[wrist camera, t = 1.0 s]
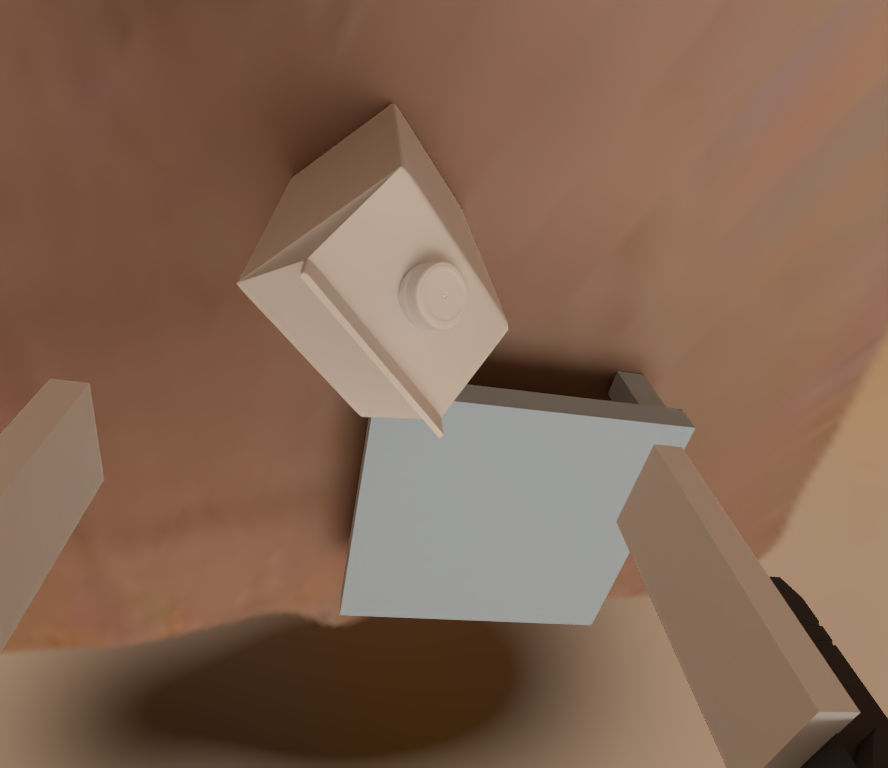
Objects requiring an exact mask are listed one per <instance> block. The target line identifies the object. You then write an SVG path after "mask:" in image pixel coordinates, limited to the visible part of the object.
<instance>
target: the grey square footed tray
mask: <svg viewBox="0 0 888 768" xmlns="http://www.w3.org/2000/svg"><path fill="white" fill-rule="evenodd" d="M608 395H609V397H610V398H611V400H612V401H606V400H597V399H589V398H580V397H572V396H563V395H555V394H546V393H537V392H529V391H520V390H512V389H503V388H495V387H486V386H477V385H469V384H467V385H466V386H465V387H464V388H463V390H462V391H461V392H460V394H459V395H458V396H457V398H456V399H455V400H454V402H453V403H452V404H451V405H450V407H449V408H448V409H447V411H446V412H445V413H444V415H443V416H442V417H441V420H442V427H443V434H444V436H442V437H440V438H438V437H437V435H436V434H435V433H434V432H433V431H432V430H431V428H430V427H429V426H428V425H427V424H426V423H425V421H424V420H423V419H408V418H379V417H369V419H368V425H367V432H366V438H365V444H364V451H363V457H362V464H361V470H360V476H359V483H358V489H357V495H356V502H355V508H354V515H353V521H352V527H351V534H350V540H349V546H348V553H347V559H346V566H345V572H344V578H343V585H342V591H341V605H340V615H352V616H377V617H404V618H427V619H452V620H453V619H455V620H477V621H503V622H526V623H528V622H529V623H551V624H552V623H553V624H575V625H591V624H592V622H593V621H594V619H595V617H596V615H597V613H598V611H599V609H600V607H601V606H602V603H603V602H604V600H605V598H606V596H607V594H608V592H609V590H610V589H611V587H612V585H613V583H614V581H615V579H616V577H617V575H618V573H619V572H620V570H621V568H622V566H623V564H624V562H625V560H626V558H627V556H628V555H629V553H630V551H629V549H628V547H627V545H626V542H625V540H624V538H623V536H622V534H621V531H620V529H619V527H618V525H617V522H616V521H617V519H618V517H619V515H620V513H621V511H622V509H623V507H624V505H625V503H626V501H627V499H628V496H629V494H630V492H631V490H632V488H633V486H634V484H635V482H636V480H637V478H638V476H639V474H640V472H641V470H642V468H643V466H644V464H645V462H646V460H647V458H648V456H649V454H650V452H651V450H652V448H653V446H654V444H657V445H666V446H675V447H682V448H683V450H684V449H685V447H686V445H687V443H688V441H689V439H690V437H691V436H692V434H693V432H694V430H695V427H694V425H693V424H692V423H691V421H690V420H689V419H688V417H687V416H686V415H685V413H684V412H683V411H682V409H674V408H666V406H665V405H664V403H663V402H662V401H661V399H660V398H659V396H658V395H657V394H656V392H655V391H654V389H653V388H652V387H651V385H650V384H649V382H648V381H647V380H646V378H645V377H644V375H643V374H636V373H629V372H621V371H617V373H616V376H615V378H614V380H613V383H612V385H611V388H610V390H609V392H608Z"/></svg>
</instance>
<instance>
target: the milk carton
mask: <svg viewBox="0 0 888 768" xmlns="http://www.w3.org/2000/svg"><path fill="white" fill-rule="evenodd" d="M236 284H237V285H238V287H239V288H240V289H241V290H242V291H243V292H244V293H245V294H246V295H247V296H248V298H249V299H250V300H251V301H252V302H253V303H254V304H255V305H256V306H257V307H258V308H259V309H260V310H261V311H262V313H263V314H264V315H265V316H266V317H267V318H268V319H269V320H270V321H271V322H272V323H273V324H274V325H275V326H276V327H277V328H278V330H279V331H280V332H281V333H282V334H283V335H284V336H285V337H286V338H287V339H288V340H289V341H290V342H291V343H292V344H293V345H294V347H295V348H296V349H297V350H298V351H299V352H300V353H301V354H302V355H303V356H304V357H305V358H306V359H307V360H308V361H309V362H310V364H311V365H312V366H313V367H314V368H315V369H316V370H317V371H318V372H319V373H320V374H321V375H322V376H323V377H324V378H325V380H326V381H327V382H328V383H329V384H330V385H331V386H332V387H333V388H334V389H335V390H336V391H337V392H338V393H339V394H340V395H341V397H342V398H343V399H344V400H345V401H346V402H347V403H348V404H349V405H350V406H351V407H352V408H353V409H354V410H355V411H356V412H357V413H358V414H359V415H360V416H361V417H379V418H408V419H423V420H424V421H425V423H426V424H427V425H428V426H429V427H430V428H431V430H432V431H433V432H434V433H435V434H436V435H437V437H438V438H440V437H442V436H444V434H443V427H442V420H441V417H442V416H443V415H444V413H445V412H446V411H447V409H448V408H449V407H450V405H451V404H452V403H453V402H454V400H455V399H456V398H457V396H458V395H459V394H460V392H461V391H462V390H463V388H464V387H465V386H466V385H467V383H468V382H469V381H470V379H471V378H472V377H473V375H474V374H475V373H476V372H477V370H478V369H479V368H480V366H481V365H482V364H483V362H484V361H485V360H486V358H487V357H488V356H489V355H490V353H491V352H492V351H493V349H494V348H495V347H496V345H497V344H498V343H499V342H500V340H501V339H502V338H503V336H504V335H505V334H506V332H507V331H508V323H507V320H506V317H505V315H504V312H503V309H502V307H501V304H500V302H499V300H498V297H497V295H496V292H495V290H494V287H493V285H492V282H491V280H490V277H489V275H488V272H487V270H486V267H485V265H484V263H483V260H482V258H481V255H480V253H479V250H478V248H477V245H476V243H475V240H474V238H473V235H472V233H471V231H470V228H469V226H468V223H467V221H466V218H465V216H464V213H463V211H462V209H461V207H460V205H459V204H458V202H457V200H456V199H455V197H454V196H453V194H452V192H451V191H450V189H449V188H448V186H447V184H446V183H445V181H444V180H443V178H442V177H441V175H440V173H439V172H438V170H437V169H436V167H435V165H434V164H433V162H432V161H431V159H430V158H429V156H428V154H427V153H426V151H425V150H424V148H423V146H422V145H421V143H420V142H419V140H418V138H417V137H416V135H415V134H414V132H413V131H412V129H411V127H410V126H409V124H408V123H407V121H406V119H405V118H404V116H403V115H402V113H401V112H400V110H399V109H398V107H397V106H396V105H395V103H392V104H390V105H389V106H388V107H386V108H385V109H384V110H382V111H381V112H380V113H378V114H377V115H375V116H374V117H373V118H371V119H370V120H369V121H367V122H366V123H365V124H363V125H362V126H361V127H359V128H358V129H357V130H355V131H354V132H353V133H351V134H350V135H349V136H347V137H346V138H345V139H343V140H342V141H340V142H339V143H338V144H336V145H335V146H334V147H332V148H331V149H330V150H328V151H327V152H326V153H324V154H323V155H322V156H320V157H319V158H318V159H316V160H315V161H314V162H312V163H311V164H310V165H308V166H307V167H305V168H304V169H303V170H301V171H300V172H299V173H297V174H296V175H295V176H293V177H292V178H291V179H290V181H289V183H288V185H287V187H286V189H285V191H284V193H283V195H282V197H281V199H280V201H279V203H278V205H277V207H276V209H275V210H274V212H273V214H272V216H271V218H270V220H269V222H268V224H267V226H266V228H265V230H264V232H263V234H262V236H261V238H260V240H259V241H258V243H257V245H256V247H255V249H254V251H253V253H252V255H251V257H250V259H249V261H248V263H247V265H246V267H245V269H244V270H243V272H242V274H241V276H240V278H239V280H238V282H237V283H236Z"/></svg>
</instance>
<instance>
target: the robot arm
mask: <svg viewBox="0 0 888 768" xmlns="http://www.w3.org/2000/svg"><path fill="white" fill-rule="evenodd" d="M103 481H104V475H103V469H102V462H101V455H100V449H99V442H98V435H97V429H96V422H95V416H94V409H93V402H92V396H91V389H90V383H86V382H77V381H68V380H59V379H49V380H48V381H47V382H46V384H45V385H44V386H43V387H42V388H41V389H40V390H39V391H38V392H37V394H36V395H35V396H34V397H33V398H32V399H31V400H30V401H29V402H28V403H27V405H26V406H25V407H24V408H23V409H22V410H21V411H20V412H19V413H18V415H17V416H16V417H15V418H14V419H13V420H12V421H11V422H10V423H9V424H8V426H7V427H6V428H5V429H4V430H3V431H2V432H1V433H0V654H1V652H2V650H3V649H4V647H5V645H6V644H7V642H8V640H9V638H10V637H11V635H12V633H13V632H14V630H15V628H16V627H17V625H18V623H19V622H20V620H21V618H22V617H23V615H24V613H25V612H26V610H27V608H28V607H29V605H30V603H31V602H32V600H33V598H34V597H35V595H36V593H37V591H38V590H39V588H40V586H41V585H42V583H43V581H44V580H45V578H46V576H47V575H48V573H49V571H50V570H51V568H52V566H53V565H54V563H55V561H56V560H57V558H58V556H59V555H60V553H61V551H62V550H63V548H64V546H65V544H66V543H67V541H68V539H69V538H70V536H71V534H72V533H73V531H74V529H75V528H76V526H77V524H78V523H79V521H80V519H81V518H82V516H83V514H84V513H85V511H86V509H87V508H88V506H89V504H90V503H91V501H92V499H93V497H94V496H95V494H96V492H97V491H98V489H99V487H100V486H101V484H102V482H103ZM616 522H617V525H618V527H619V529H620V531H621V534H622V536H623V538H624V540H625V542H626V545H627V547H628V549H629V551H630V554H631V556H632V558H633V560H634V562H635V565H636V567H637V569H638V571H639V574H640V576H641V578H642V580H643V583H644V585H645V587H646V589H647V591H648V594H649V596H650V598H651V600H652V603H653V605H654V607H655V609H656V611H657V614H658V616H659V618H660V620H661V623H662V625H663V627H664V629H665V632H666V634H667V636H668V638H669V640H670V643H671V645H672V647H673V649H674V652H675V654H676V656H677V658H678V660H679V663H680V665H681V667H682V669H683V672H684V674H685V676H686V678H687V681H688V683H689V685H690V687H691V689H692V692H693V694H694V696H695V698H696V700H697V703H698V705H699V707H700V709H701V712H702V714H703V716H704V718H705V721H706V723H707V725H708V727H709V730H710V732H711V734H712V736H713V738H714V741H715V743H716V745H717V747H718V750H719V752H720V754H721V756H722V758H723V760H724V763H725V765H726V767H727V768H888V718H887V717H886V716H885V714H884V713H883V711H882V710H881V709H880V707H879V706H878V704H877V703H876V702H875V700H874V699H873V697H872V696H871V695H870V693H869V692H868V690H867V689H866V687H865V686H864V685H863V683H862V682H861V680H860V679H859V678H858V676H857V675H856V673H855V672H854V670H853V669H852V668H851V666H850V665H849V663H848V662H847V661H846V659H845V658H844V656H843V655H842V653H841V652H840V651H839V649H838V648H837V647H836V646H835V645H833V644H832V639H831V638H830V636H829V635H828V634H827V632H826V631H825V629H824V628H823V627H822V626H819V621H818V620H817V618H816V617H815V615H814V614H813V612H812V611H811V610H810V608H809V607H808V605H807V604H806V602H805V601H804V600H803V599H802V597H801V596H799V595H798V594H797V593H796V592H795V591H794V590H793V589H792V588H791V587H790V586H788V584H786V583H785V582H784V581H783V580H782V579H781V578H780V577H769V576H768V574H767V573H766V572H765V570H764V569H763V567H762V566H761V564H760V563H759V561H758V560H757V558H756V557H755V555H754V554H753V552H752V551H751V549H750V548H749V546H748V545H747V543H746V542H745V540H744V539H743V537H742V536H741V534H740V533H739V531H738V530H737V528H736V527H735V526H734V524H733V523H732V521H731V520H730V518H729V517H728V515H727V514H726V512H725V511H724V509H723V508H722V506H721V505H720V503H719V502H718V500H717V499H716V497H715V496H714V494H713V493H712V491H711V490H710V488H709V487H708V485H707V484H706V482H705V481H704V480H703V478H702V477H701V475H700V474H699V472H698V471H697V469H696V468H695V466H694V465H693V463H692V462H691V460H690V459H689V457H688V456H687V454H686V453H685V451H684V450H683V448H682V447H675V446H666V445H657V444H654V446H653V448H652V450H651V452H650V454H649V456H648V458H647V460H646V462H645V464H644V466H643V468H642V470H641V472H640V474H639V476H638V478H637V480H636V482H635V484H634V486H633V488H632V490H631V492H630V494H629V496H628V499H627V501H626V503H625V505H624V507H623V509H622V511H621V513H620V515H619V517H618V519H617V521H616Z"/></svg>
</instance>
